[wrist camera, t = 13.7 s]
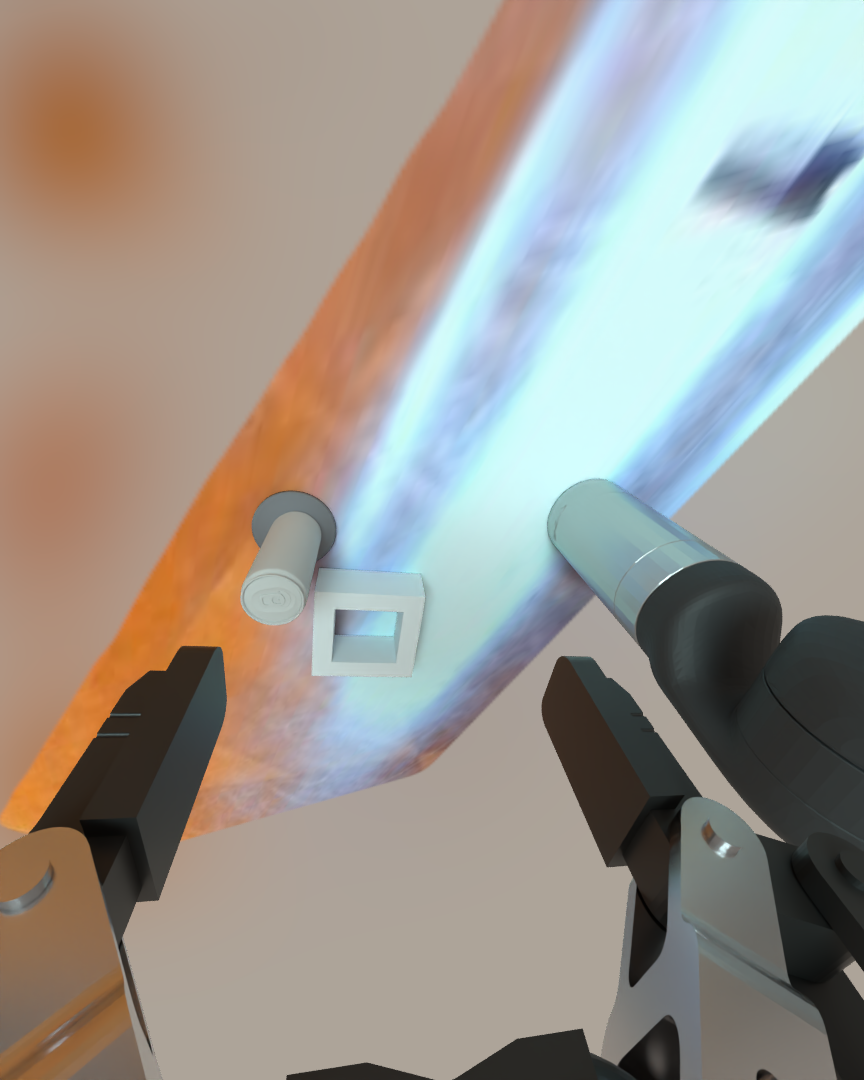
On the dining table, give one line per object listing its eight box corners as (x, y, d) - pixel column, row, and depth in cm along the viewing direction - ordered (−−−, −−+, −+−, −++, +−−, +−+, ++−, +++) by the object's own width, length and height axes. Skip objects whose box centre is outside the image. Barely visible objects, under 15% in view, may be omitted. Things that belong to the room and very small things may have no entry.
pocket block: (420, 573, 47) (425, 597, 43) (408, 649, 52) (411, 677, 48) (319, 567, 45) (314, 591, 41) (316, 647, 49) (311, 675, 45)
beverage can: (325, 550, 43) (310, 623, 33) (276, 554, 43) (246, 629, 32) (318, 507, 41) (300, 570, 30) (267, 510, 40) (231, 576, 30)
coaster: (337, 494, 41) (337, 496, 41) (333, 564, 45) (333, 567, 44) (251, 486, 40) (250, 488, 39) (254, 559, 43) (253, 562, 43)
